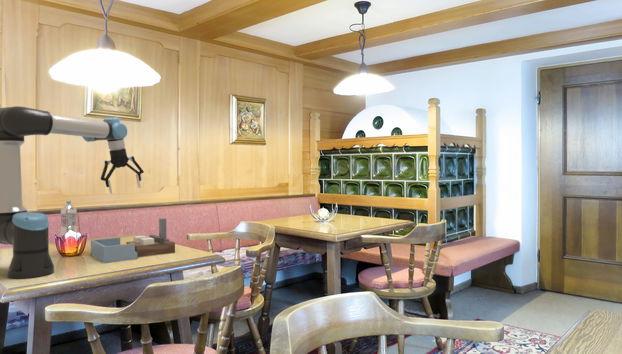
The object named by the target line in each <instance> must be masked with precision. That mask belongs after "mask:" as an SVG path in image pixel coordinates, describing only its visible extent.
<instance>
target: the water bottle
mask: <svg viewBox="0 0 622 354" xmlns="http://www.w3.org/2000/svg"><path fill="white" fill-rule="evenodd" d="M71 203H72V202H71V201H70V200H69V201H66V204H65V205H64V206H63V207H62V208H61V210H60V236H61V235H63V234H66V233H67V232H68V231H69V230H72V231H74V232H77V233H78V225H77V224H78V222H77V221H78V220H77V217H78V216H77V212H78V210H77V208H76V207H75V206H74V205H73V204H71Z"/></svg>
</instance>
